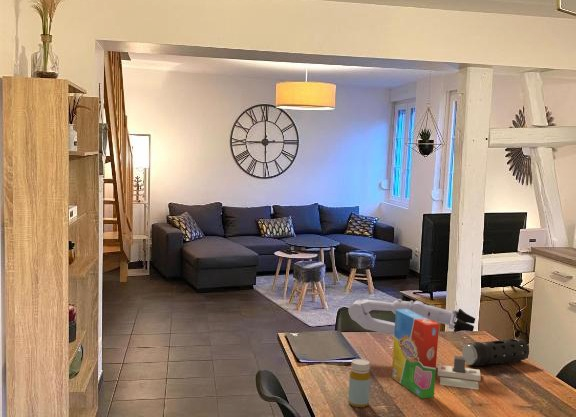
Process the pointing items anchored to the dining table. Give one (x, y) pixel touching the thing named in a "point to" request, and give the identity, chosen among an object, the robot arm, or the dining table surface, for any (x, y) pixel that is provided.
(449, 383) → the sage mat
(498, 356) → the muzzle brake
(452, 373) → the socket strip
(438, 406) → the dining table surface
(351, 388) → the bottle
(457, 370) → the block
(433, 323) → the game box
